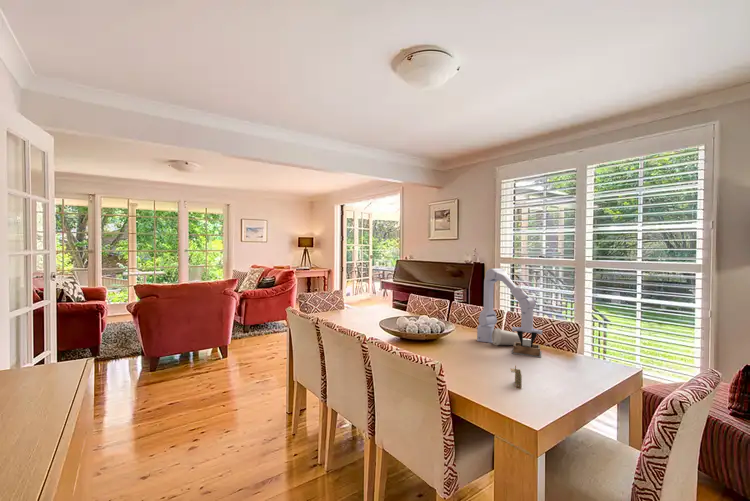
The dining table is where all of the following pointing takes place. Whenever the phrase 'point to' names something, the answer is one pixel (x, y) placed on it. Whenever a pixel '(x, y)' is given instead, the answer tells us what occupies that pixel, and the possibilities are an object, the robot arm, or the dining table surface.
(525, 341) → the brushed aluminum block
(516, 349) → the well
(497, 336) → the coffee cup
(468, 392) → the dining table surface
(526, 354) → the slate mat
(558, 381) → the dining table surface
